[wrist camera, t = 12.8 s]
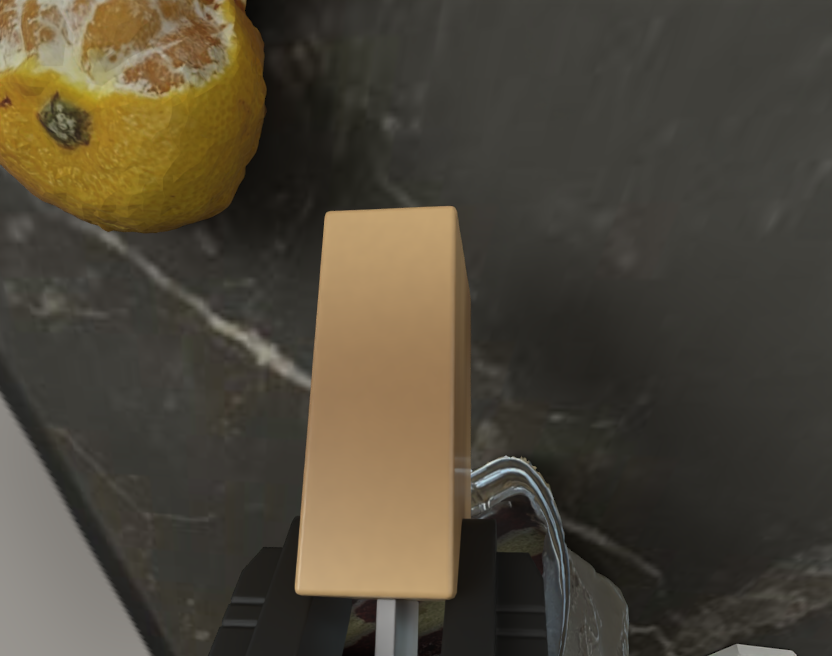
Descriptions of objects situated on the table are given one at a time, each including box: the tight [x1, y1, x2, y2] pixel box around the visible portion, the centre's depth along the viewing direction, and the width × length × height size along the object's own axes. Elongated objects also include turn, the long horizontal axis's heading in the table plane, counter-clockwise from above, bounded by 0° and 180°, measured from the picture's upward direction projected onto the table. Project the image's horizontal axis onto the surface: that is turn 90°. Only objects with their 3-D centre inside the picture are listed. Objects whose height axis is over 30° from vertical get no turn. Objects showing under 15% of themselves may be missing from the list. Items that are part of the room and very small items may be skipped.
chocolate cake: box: [342, 455, 629, 656], centre depth 21 cm, size 10×7×12 cm
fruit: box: [0, 0, 267, 233], centre depth 14 cm, size 8×8×4 cm
